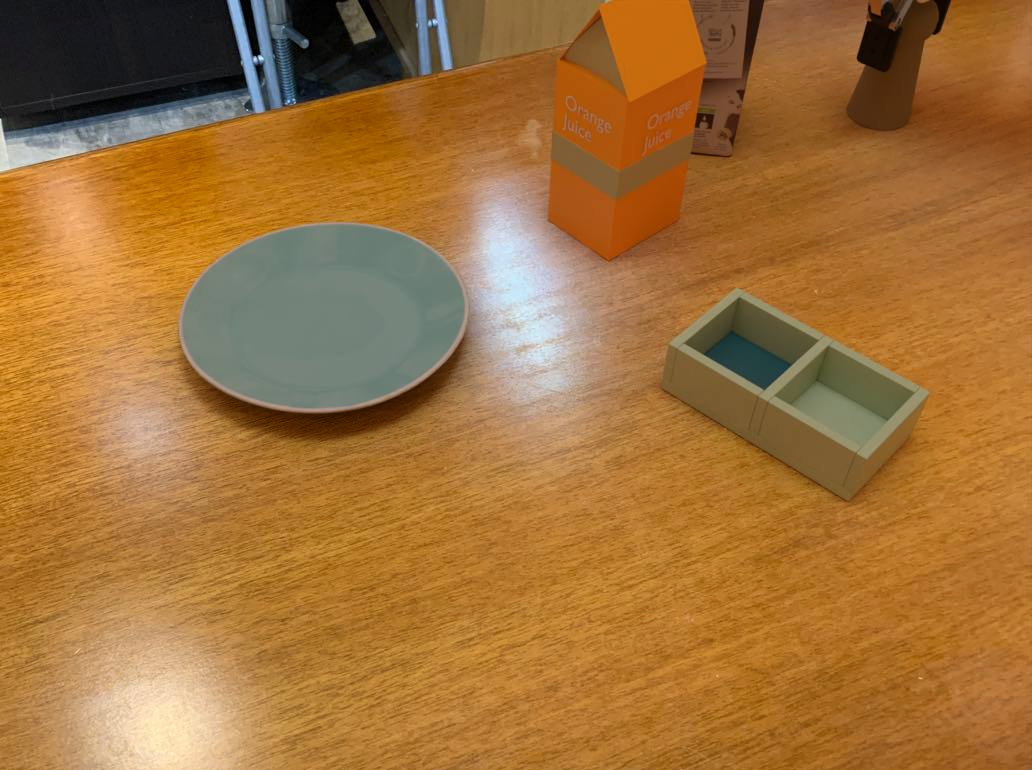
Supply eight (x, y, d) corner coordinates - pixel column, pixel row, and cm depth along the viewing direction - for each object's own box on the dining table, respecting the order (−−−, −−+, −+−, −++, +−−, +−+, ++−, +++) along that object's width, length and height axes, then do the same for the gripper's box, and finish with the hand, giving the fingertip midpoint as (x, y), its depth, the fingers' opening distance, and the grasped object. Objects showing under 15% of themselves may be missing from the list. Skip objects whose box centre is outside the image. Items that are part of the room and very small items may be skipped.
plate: (149, 293, 88) (140, 265, 86) (399, 218, 94) (397, 190, 92) (240, 478, 76) (233, 451, 74) (519, 378, 82) (520, 350, 80)
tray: (910, 436, 79) (931, 392, 76) (848, 502, 75) (866, 459, 72) (726, 332, 86) (736, 286, 82) (659, 387, 82) (668, 343, 78)
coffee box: (733, 158, 100) (770, -20, 88) (664, 151, 101) (690, -26, 88) (735, 104, 106) (771, -70, 93) (669, 98, 106) (695, -76, 94)
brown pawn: (886, 91, 108) (922, -22, 99) (922, 123, 104) (962, 9, 96) (834, 102, 106) (866, -11, 98) (868, 135, 103) (905, 20, 94)
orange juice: (545, 219, 94) (559, -14, 79) (616, 180, 98) (643, -50, 82) (609, 262, 91) (637, 28, 75) (680, 220, 95) (721, -12, 79)
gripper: (955, -117, 81) (885, 99, 95) (1058, -181, 89) (980, 27, 103) (867, -146, 84) (812, 68, 98) (974, -206, 92) (909, 0, 106)
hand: (898, 46), depth 100 cm, fingers open, 8 cm apart
